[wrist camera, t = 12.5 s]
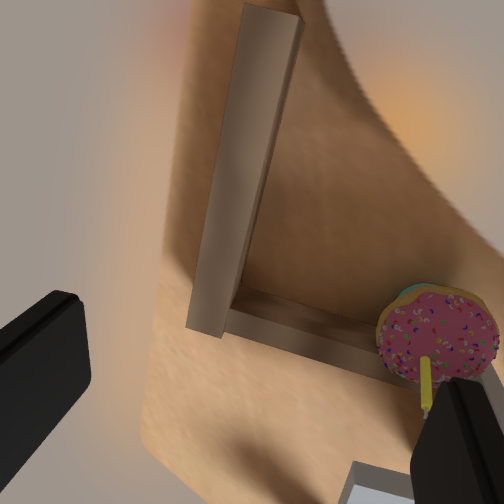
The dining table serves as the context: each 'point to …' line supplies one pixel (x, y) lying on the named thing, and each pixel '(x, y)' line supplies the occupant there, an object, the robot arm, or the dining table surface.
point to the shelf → (399, 484)
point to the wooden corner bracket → (246, 210)
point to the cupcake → (436, 337)
